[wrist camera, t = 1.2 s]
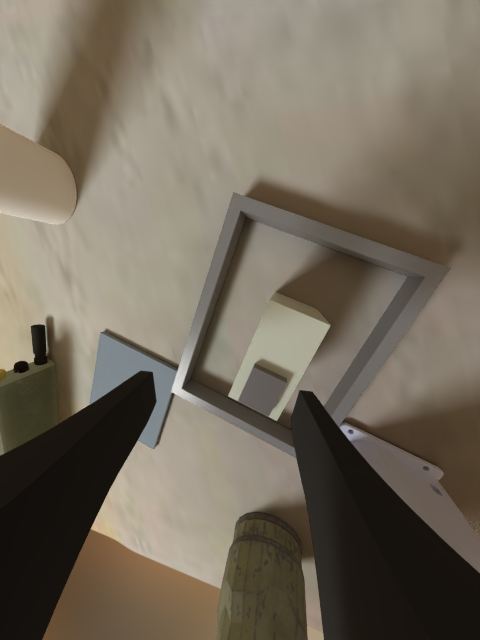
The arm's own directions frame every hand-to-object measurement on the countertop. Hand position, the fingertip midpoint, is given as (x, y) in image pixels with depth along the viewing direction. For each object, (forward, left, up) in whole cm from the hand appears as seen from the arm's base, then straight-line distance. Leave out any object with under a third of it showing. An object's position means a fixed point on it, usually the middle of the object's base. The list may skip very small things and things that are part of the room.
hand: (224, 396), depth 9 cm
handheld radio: (+25, +23, -11) cm, 36 cm away
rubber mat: (+12, +14, -10) cm, 21 cm away
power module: (-2, -1, -10) cm, 11 cm away
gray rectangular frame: (-2, -1, -10) cm, 10 cm away
